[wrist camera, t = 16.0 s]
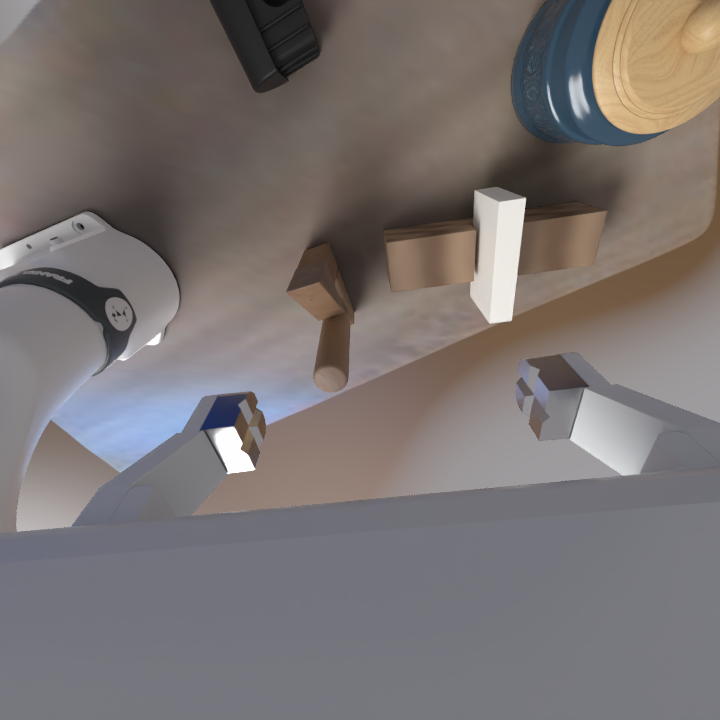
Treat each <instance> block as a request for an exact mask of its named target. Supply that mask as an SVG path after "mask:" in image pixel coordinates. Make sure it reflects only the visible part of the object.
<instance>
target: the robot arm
mask: <svg viewBox="0 0 720 720" xmlns="http://www.w3.org/2000/svg"><path fill="white" fill-rule="evenodd" d="M80 223H81V224H82V225H83V226H84V228H82V227H81V225H80ZM178 307H179V289H178V286H177V282H176V280H175V278H174V276H173V274H172V272H171V270H170V269H169V267H168V266H167V264H166V263H165V262H164V261H163V259H162V258H161V257H160V256H159V255H158V254H157V253H156V252H155V251H153V250H152V249H151V248H150V247H148V246H147V245H146V244H144V243H143V242H141V241H139V240H137V239H136V238H134V237H131V236H129V235H127V234H124V233H122V232H120V231H118V230H116V229H114V228H112V227H111V226H110V225H109V224H108V223H106V222H105V221H104V220H103V219H101V218H100V217H99V216H97V215H96V214H94V213H92V212H83V213H81V214H78V215H76V216H74V217H72V218H69V219H67V220H65V221H63V222H60V223H58V224H56V225H53V226H51V227H49V228H47V229H44V230H42V231H40V232H38V233H35V234H33V235H31V236H29V237H26V238H24V239H22V240H19V241H17V242H15V243H13V244H10V245H8V246H6V247H4V248H2V249H0V720H720V423H718V422H716V421H713V420H710V419H708V418H705V417H702V416H700V415H697V414H695V413H692V412H689V411H687V410H684V409H681V408H679V407H676V406H673V405H670V404H668V403H665V402H663V401H660V400H657V399H655V398H652V397H650V396H647V395H644V394H642V393H639V392H636V391H634V390H631V389H628V388H626V387H623V386H620V385H618V384H614V385H611V384H610V383H609V382H608V381H607V380H606V379H605V378H604V377H603V376H602V375H601V374H600V373H599V372H597V370H595V369H594V367H593V366H591V365H590V364H589V363H588V362H587V361H586V360H585V359H584V358H583V357H582V356H581V355H580V354H579V353H576V352H571V353H563V354H557V355H553V356H545V357H537V358H530V359H521V361H520V363H519V367H518V372H519V373H520V375H521V376H522V377H521V378H520V379H519V380H518V382H517V383H516V390H515V393H516V400H517V403H518V406H519V408H520V410H521V412H522V413H523V414H525V415H526V416H528V417H530V419H529V425H530V427H531V429H532V430H533V432H534V433H535V435H536V437H537V439H538V440H539V441H543V440H556V439H568V438H570V440H571V441H573V442H574V443H576V444H577V445H578V446H580V447H582V448H583V449H584V450H586V451H587V452H589V453H590V454H592V455H593V456H595V457H596V458H598V459H599V460H601V461H602V462H604V463H605V464H607V465H608V466H610V467H611V468H612V469H614V470H615V471H617V472H618V473H620V474H621V475H623V476H613V477H603V478H592V479H582V480H571V481H561V482H550V483H539V484H529V485H518V486H507V487H497V488H484V489H474V490H463V491H452V492H441V493H430V494H419V495H409V496H398V497H387V498H376V499H366V500H355V501H345V502H334V503H323V504H312V505H301V506H291V507H280V508H270V509H258V510H248V511H237V512H226V513H215V514H205V515H195V516H191V515H192V514H193V513H194V512H195V511H196V510H197V509H198V507H199V506H200V505H201V504H202V503H203V502H204V501H205V500H206V498H207V497H208V496H209V495H210V494H211V493H212V492H213V491H214V490H215V488H216V487H217V486H218V485H219V484H220V483H221V482H222V481H223V480H224V478H225V477H226V476H227V475H228V474H227V473H233V472H241V471H249V470H255V468H256V464H257V461H258V458H259V455H260V451H259V448H258V446H259V445H260V444H261V443H262V442H263V441H264V438H265V434H266V423H265V418H264V415H263V413H262V411H260V410H259V409H257V408H256V405H257V403H258V400H257V398H256V396H255V394H254V393H253V392H251V391H250V392H239V393H229V394H221V395H211V396H205V397H203V398H202V399H201V400H200V402H199V404H198V406H197V407H196V409H195V411H194V412H193V414H192V416H191V417H190V419H189V421H188V422H187V424H186V426H185V427H184V429H183V431H182V432H181V433H176V434H175V435H173V436H172V437H171V438H169V439H168V440H166V441H165V442H164V443H162V444H161V445H159V446H158V447H157V448H155V449H154V450H152V451H151V452H150V453H148V454H147V455H145V456H144V457H143V458H141V459H140V460H138V461H137V462H135V463H134V464H133V465H131V466H130V467H128V468H127V469H126V470H124V471H123V472H121V473H120V474H119V475H118V476H116V477H114V478H113V479H112V480H110V481H109V482H107V483H106V484H105V485H103V486H102V487H100V488H99V489H98V491H97V492H96V493H95V495H94V496H93V497H92V499H91V500H90V502H89V503H88V504H87V506H86V507H85V509H84V510H83V511H82V512H81V514H80V515H79V517H78V518H77V520H76V521H75V522H74V523H73V525H72V526H71V527H64V528H54V529H43V530H32V531H21V532H17V530H16V515H17V514H16V513H17V505H18V498H19V494H20V489H21V485H22V482H23V479H24V475H25V472H26V469H27V467H28V464H29V461H30V458H31V456H32V454H33V451H34V449H35V446H36V444H37V442H38V440H39V438H40V436H41V434H42V432H43V431H44V429H45V427H46V425H47V424H48V422H49V421H50V420H51V418H52V417H53V416H54V414H55V413H56V412H57V410H58V409H59V408H60V407H61V406H62V405H63V404H64V403H65V402H66V401H67V400H68V399H69V398H70V397H71V396H72V395H73V394H74V393H75V392H76V391H77V390H78V389H79V388H80V387H81V386H82V385H83V384H84V383H85V382H86V381H87V380H88V379H89V378H90V377H92V376H95V375H97V374H99V373H101V372H102V371H103V370H105V369H107V368H108V367H110V366H111V365H112V364H113V363H114V362H115V361H116V360H122V361H123V360H126V359H128V358H130V357H131V356H132V355H134V354H135V353H136V352H137V351H139V350H140V349H141V348H142V347H144V346H145V345H157V344H158V343H160V342H161V341H162V340H163V337H164V332H165V327H166V326H167V324H168V323H169V322H170V321H171V320H172V319H173V318H174V316H175V315H176V313H177V310H178Z"/></svg>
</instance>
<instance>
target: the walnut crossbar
mask: <svg viewBox="0 0 720 720" xmlns="http://www.w3.org/2000/svg"><path fill="white" fill-rule="evenodd" d="M606 215H607V210H604V209H600V208H597V207H594V206H591V205H587V204H584V203H581V202H578V201H577V202H570V203H564V204H557V205H550V206H544V207H537V208H530V209H525V213H524V221H523V229H522V238H521V246H520V255H519V263H518V272H517V275H523V274H531V273H538V272H545V271H553V270H560V269H567V268H575V267H582V266H590V265H594V264H595V260H596V255H597V251H598V247H599V243H600V239H601V235H602V231H603V227H604V223H605V219H606ZM383 233H384V243H385V253H386V263H387V273H388V279H389V284H390V288H391V292H398V291H406V290H413V289H420V288H428V287H435V286H443V285H450V284H457V283H465V282H472V281H474V267H475V246H476V229H474V228H473V217H470V218H463V219H457V220H450V221H443V222H437V223H430V224H423V225H416V226H410V227H403V228H396V229H390V230H383Z"/></svg>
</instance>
